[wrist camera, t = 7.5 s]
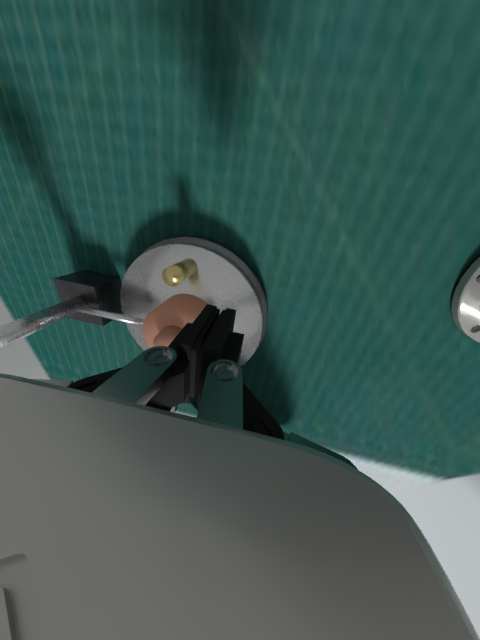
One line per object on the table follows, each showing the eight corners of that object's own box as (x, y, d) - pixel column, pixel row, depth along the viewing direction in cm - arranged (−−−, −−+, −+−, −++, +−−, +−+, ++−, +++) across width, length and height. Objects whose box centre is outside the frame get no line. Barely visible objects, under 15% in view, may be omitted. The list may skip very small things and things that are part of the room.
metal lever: (171, 287, 24) (-19, 415, 9) (172, 322, 27) (25, 470, 11) (84, 270, 25) (-232, 356, 10) (92, 304, 28) (-149, 419, 12)
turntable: (278, 258, 19) (278, 272, 14) (249, 381, 27) (243, 416, 23) (118, 229, 21) (70, 233, 16) (136, 354, 29) (108, 382, 24)
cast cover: (219, 299, 21) (204, 321, 16) (216, 351, 24) (202, 381, 20) (158, 288, 21) (127, 307, 17) (162, 340, 25) (138, 367, 20)
